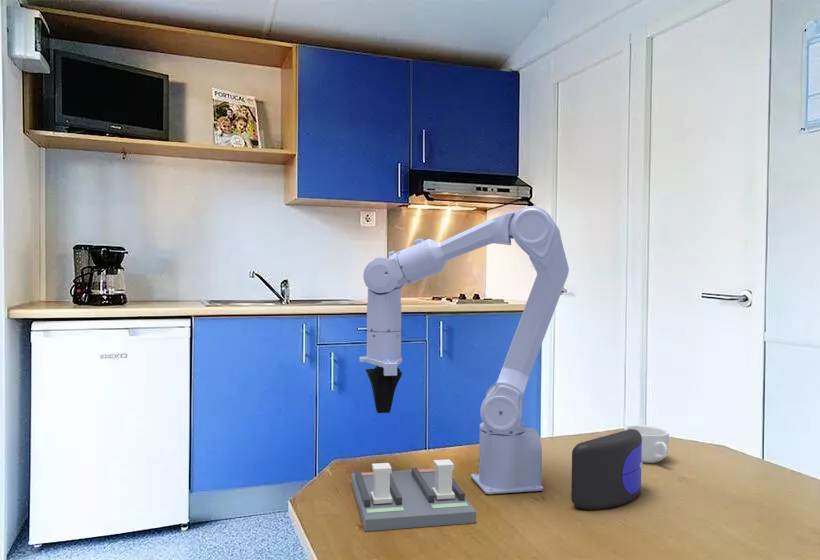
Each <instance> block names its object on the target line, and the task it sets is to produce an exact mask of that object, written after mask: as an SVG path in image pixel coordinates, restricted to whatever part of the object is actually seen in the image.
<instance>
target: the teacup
mask: <svg viewBox="0 0 820 560" xmlns="http://www.w3.org/2000/svg"><path fill="white" fill-rule="evenodd" d="M628 429H634V430H637V431H639V432H640V434H641V437H642V459H641V461H642V462H643V464H644V463H645V464H656V463H659V462H661V461H662V460H663V459H664V458H666V457H667V456H668V454H669V441H670V433H669V431H668V430H666V429H664V428H662V427H658V426H652V425H646V424H628V425H625V426H624V427H623V431H625V430H628Z"/></svg>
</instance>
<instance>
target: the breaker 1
mask: <svg viewBox="0 0 820 560" xmlns="http://www.w3.org/2000/svg"><path fill="white" fill-rule="evenodd" d="M371 469H372V472H374V481H373V492H371V498H372V501H373V504H383V503H392V497H391V494H390V473H392V471H393V470H392V466H391V464H390V463H389V462H380V463H372V464H371Z"/></svg>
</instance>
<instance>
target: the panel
mask: <svg viewBox="0 0 820 560" xmlns="http://www.w3.org/2000/svg"><path fill="white" fill-rule="evenodd" d="M350 478H351V480H350V483H351V488H352V490H353V493H354V496H355V500H356V503H357V508H358V511H359V513H360V514H359V515H360V518H361V521H362V525H363V528H364V532H374V531H375V532H376V531H386V530H387V531H388V530H400V529H413V528H427V527H428V528H429V527H438V526H439V527H441V526H451V525H463V524H465V525H467V524H477V511H476V509H475V508H474V507H473V506H472V504H471V503H470V501H468V499H467V498H466V497H465V496H466V495H465V494H466V493H465V492H464V490H463V489H462V488H461V487H460V485H459V484H458V483H457V482H456V480H455V479H454V478H453V477H452V491H453V492H454V494H455V498H454V499H439V500H437V499H436V497H435V495H434V494H433V492H432V488H435V468H421V469H420V468H419V469H418V468H417V467H411V469H403V470H392V473H390V494H391V497H392V503H383V504H373V501H372V498H371V492H373V481H374V472H373V471H370V472H369V471H367V472H362V471H361V470H355V471H354V472H352V473H351V477H350Z"/></svg>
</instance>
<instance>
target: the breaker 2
mask: <svg viewBox="0 0 820 560" xmlns="http://www.w3.org/2000/svg"><path fill="white" fill-rule="evenodd" d="M432 464H433V466H434V469H435V488H432V492H433V494H434V495H435V497H436V499H437V500H439V499H454V498H455V494H454V492H453V491H452V478H453V470H454V469H455V464H454V463H453V461H451V459H433V463H432Z"/></svg>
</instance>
